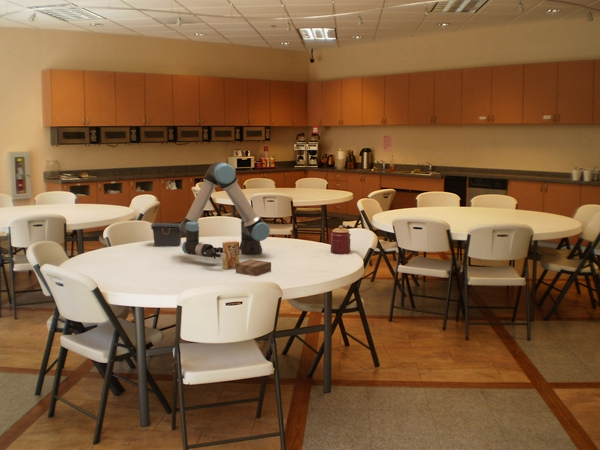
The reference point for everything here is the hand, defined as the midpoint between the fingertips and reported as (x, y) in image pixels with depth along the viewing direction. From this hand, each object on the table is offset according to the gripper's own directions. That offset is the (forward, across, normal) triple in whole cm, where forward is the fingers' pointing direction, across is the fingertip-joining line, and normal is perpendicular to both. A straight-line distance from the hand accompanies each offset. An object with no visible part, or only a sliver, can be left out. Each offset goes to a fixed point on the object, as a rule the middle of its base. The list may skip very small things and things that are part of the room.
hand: (233, 254), depth 356 cm
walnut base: (+14, 0, +8) cm, 16 cm away
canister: (+27, +76, +8) cm, 81 cm away
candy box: (-2, 0, +8) cm, 9 cm away
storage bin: (-80, +29, +8) cm, 85 cm away
